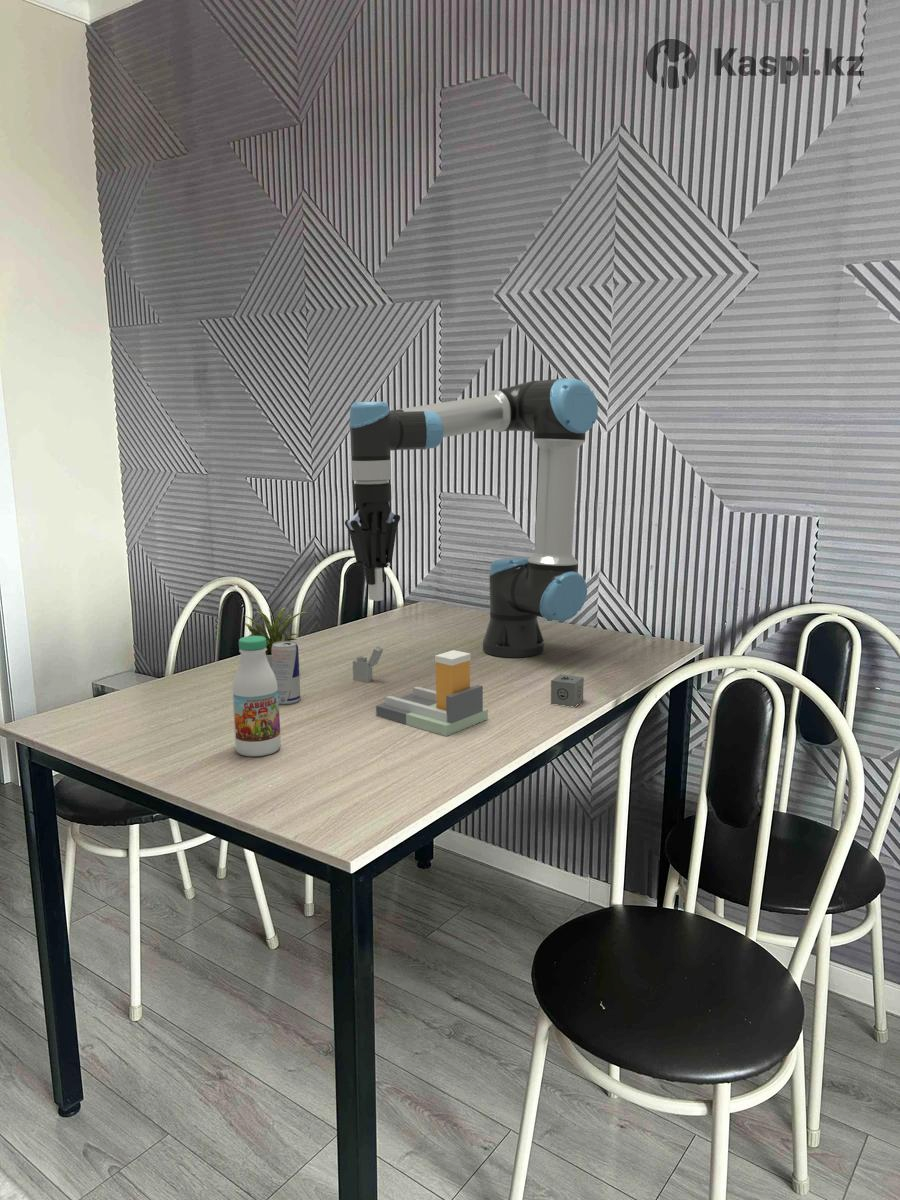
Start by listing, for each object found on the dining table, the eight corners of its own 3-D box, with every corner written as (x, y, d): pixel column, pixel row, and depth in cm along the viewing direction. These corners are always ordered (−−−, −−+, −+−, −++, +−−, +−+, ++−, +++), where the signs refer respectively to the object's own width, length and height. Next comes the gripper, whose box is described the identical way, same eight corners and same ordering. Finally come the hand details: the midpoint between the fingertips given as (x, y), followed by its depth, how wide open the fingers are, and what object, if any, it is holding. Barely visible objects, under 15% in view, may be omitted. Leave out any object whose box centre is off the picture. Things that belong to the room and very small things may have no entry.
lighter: (352, 679, 196) (351, 644, 194) (357, 677, 198) (355, 643, 196) (380, 683, 193) (379, 648, 191) (384, 681, 194) (383, 646, 193)
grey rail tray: (376, 715, 172) (375, 680, 171) (418, 700, 181) (418, 667, 179) (446, 736, 160) (445, 699, 159) (487, 719, 169) (487, 684, 168)
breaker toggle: (435, 713, 166) (434, 655, 164) (453, 706, 170) (453, 650, 168) (452, 718, 163) (452, 659, 161) (470, 711, 167) (470, 653, 165)
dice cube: (560, 697, 182) (560, 674, 181) (583, 701, 180) (583, 677, 179) (550, 704, 178) (551, 680, 177) (574, 708, 176) (574, 683, 175)
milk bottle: (227, 749, 155) (220, 638, 151) (265, 738, 160) (259, 630, 156) (251, 761, 149) (244, 646, 145) (289, 749, 155) (284, 637, 151)
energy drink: (304, 697, 184) (302, 641, 181) (293, 705, 178) (290, 647, 176) (281, 695, 185) (278, 640, 183) (269, 703, 180) (266, 646, 178)
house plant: (304, 665, 208) (301, 597, 204) (317, 681, 195) (314, 608, 192) (242, 672, 203) (238, 602, 199) (252, 689, 190) (247, 614, 187)
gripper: (383, 479, 181) (387, 592, 186) (333, 483, 172) (339, 602, 177) (408, 480, 176) (412, 596, 181) (359, 485, 167) (364, 607, 172)
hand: (376, 599), depth 179 cm, fingers closed
